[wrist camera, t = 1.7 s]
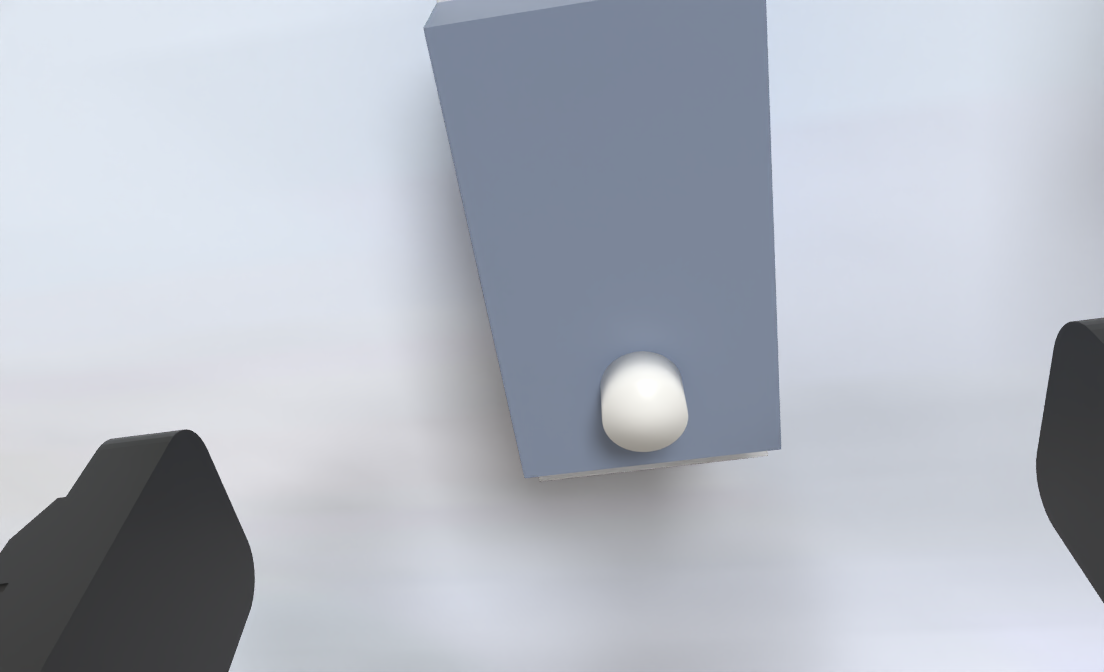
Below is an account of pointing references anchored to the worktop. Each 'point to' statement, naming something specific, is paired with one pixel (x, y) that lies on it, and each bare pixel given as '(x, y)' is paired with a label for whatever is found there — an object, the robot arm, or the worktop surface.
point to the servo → (619, 223)
